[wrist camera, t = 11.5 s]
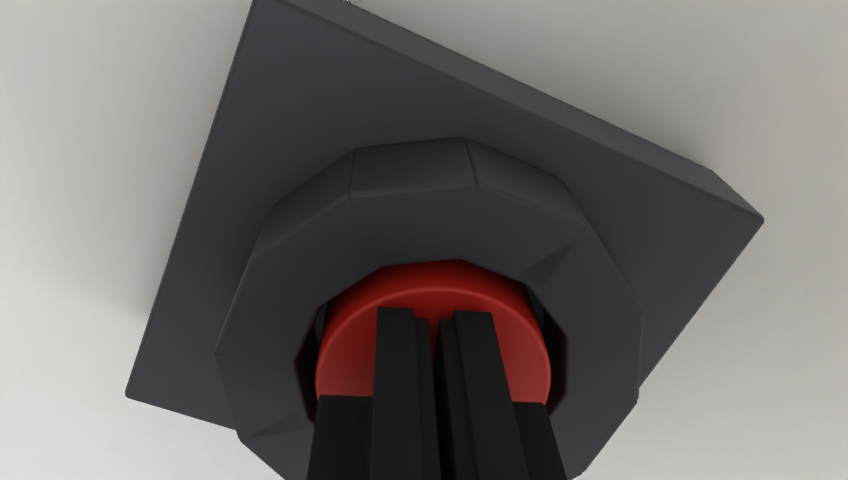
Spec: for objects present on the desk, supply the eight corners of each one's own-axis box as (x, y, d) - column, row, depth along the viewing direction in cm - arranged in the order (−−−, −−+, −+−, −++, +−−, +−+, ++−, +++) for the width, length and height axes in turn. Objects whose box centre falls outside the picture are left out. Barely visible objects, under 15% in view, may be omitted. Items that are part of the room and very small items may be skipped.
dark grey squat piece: (714, 171, 13) (829, 274, 10) (522, 448, 17) (556, 600, 13) (279, -30, 11) (227, 8, 8) (158, 330, 15) (82, 472, 11)
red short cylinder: (569, 277, 12) (596, 337, 10) (475, 425, 13) (485, 499, 11) (373, 198, 11) (369, 252, 9) (296, 366, 12) (281, 437, 11)
